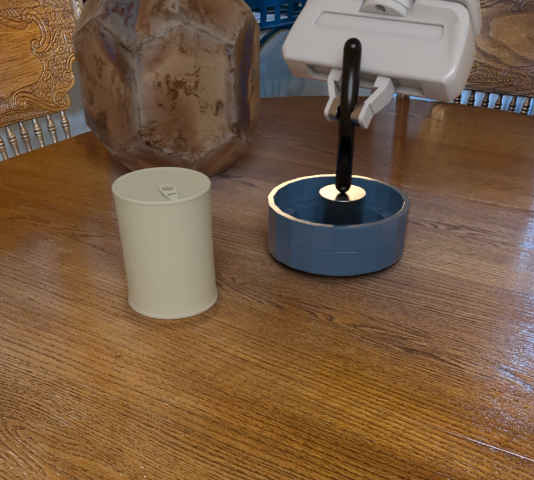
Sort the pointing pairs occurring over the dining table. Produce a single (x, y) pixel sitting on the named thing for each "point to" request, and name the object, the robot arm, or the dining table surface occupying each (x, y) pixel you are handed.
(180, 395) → the dining table surface
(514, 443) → the dining table surface
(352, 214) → the black handled meat pounder
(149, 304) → the can
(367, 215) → the bowl
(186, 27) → the planter
